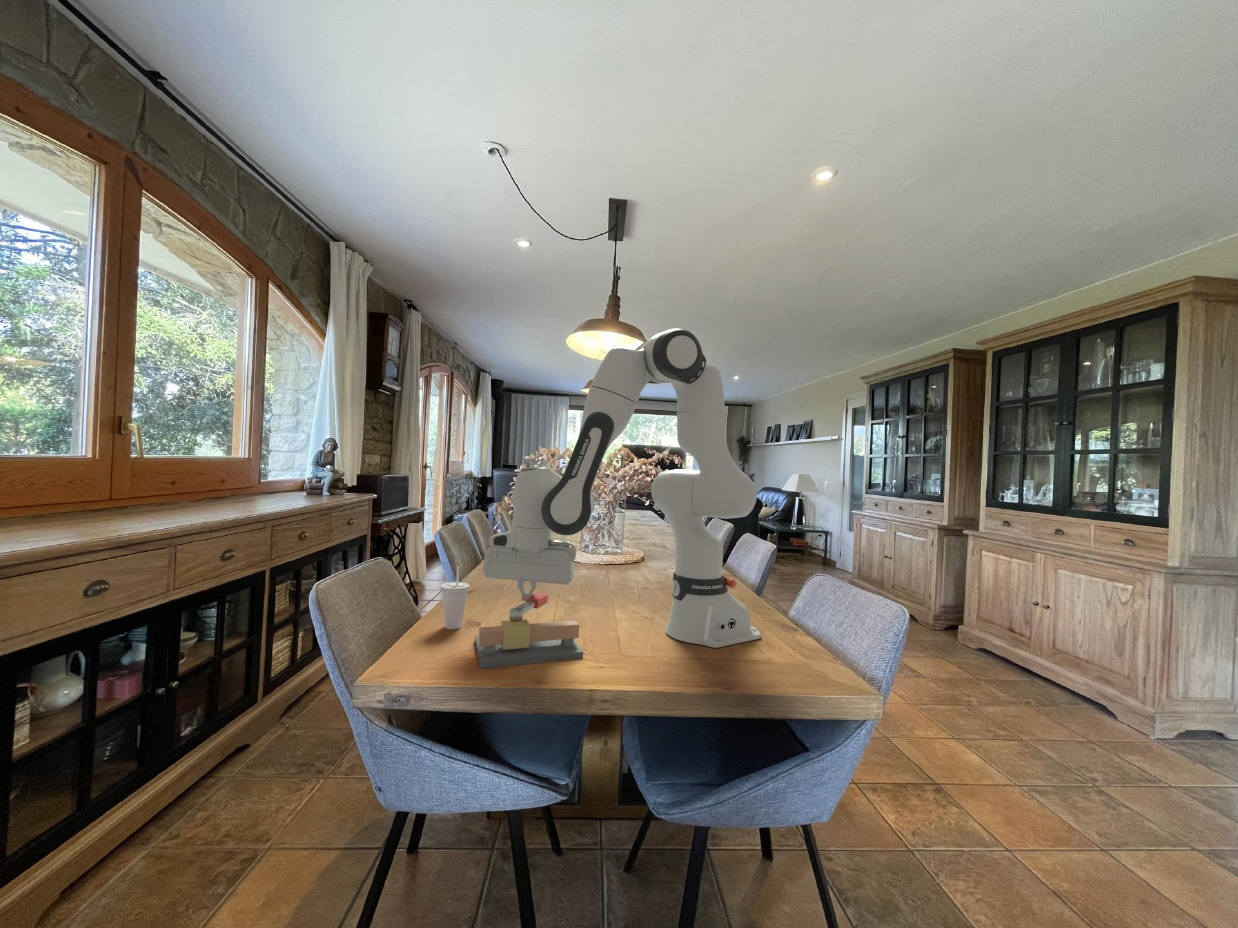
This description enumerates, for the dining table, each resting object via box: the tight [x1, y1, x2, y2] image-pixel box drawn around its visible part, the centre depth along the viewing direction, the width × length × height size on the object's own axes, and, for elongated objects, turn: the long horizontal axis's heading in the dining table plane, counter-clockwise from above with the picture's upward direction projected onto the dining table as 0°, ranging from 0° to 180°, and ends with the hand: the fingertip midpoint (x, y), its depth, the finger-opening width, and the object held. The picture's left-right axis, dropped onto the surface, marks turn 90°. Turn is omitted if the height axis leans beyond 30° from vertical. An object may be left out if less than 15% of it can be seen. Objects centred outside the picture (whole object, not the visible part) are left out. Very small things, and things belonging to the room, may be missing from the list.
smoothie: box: [440, 566, 470, 630], centre depth 114 cm, size 6×6×14 cm
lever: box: [508, 592, 549, 621], centre depth 105 cm, size 13×3×2 cm, turn 163°
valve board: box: [474, 618, 584, 669], centre depth 102 cm, size 20×14×7 cm
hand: (527, 600), depth 110 cm, fingers closed
